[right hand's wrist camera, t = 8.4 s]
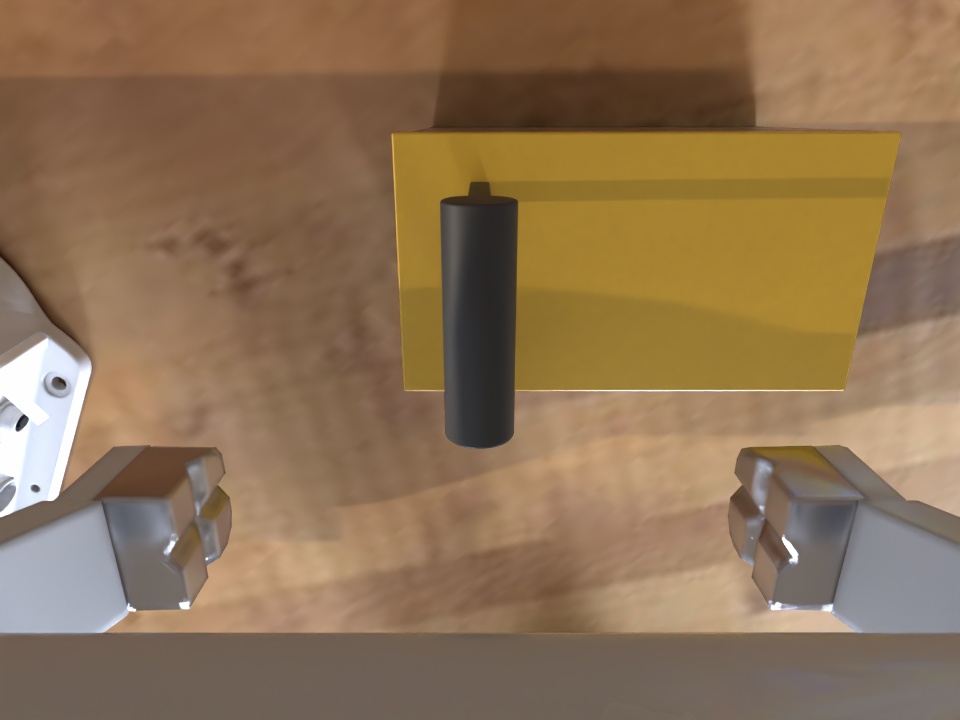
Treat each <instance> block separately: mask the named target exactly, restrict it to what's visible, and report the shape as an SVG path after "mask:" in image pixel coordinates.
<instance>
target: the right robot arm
mask: <svg viewBox="0 0 960 720" xmlns="http://www.w3.org/2000/svg"><path fill="white" fill-rule="evenodd" d="M91 368H92V367H91V361H90V359H89V357H88V355H87V354H86V352H85V351H84V350H83V349H82V348H81V347H80V346H79V345H78V344H77V343H76V342H75V341H74V340H72V339H71V338H70V337H69V336H68V335H66V334H65V333H64V332H63V331H61V330H60V329H59V328H58V327H56V326H55V325H54V324H53V323H52V322H51V321H50V320H49V319H48V317H47V316H46V315H45V313H44V312H43V311H42V309H41V307H40V306H39V304H38V303H37V301H36V300H35V298H34V296H33V295H32V293H31V292H30V290H29V289H28V287H27V286H26V285H25V283H24V282H23V281H22V279H21V278H20V277H19V276H18V274H17V273H16V272H15V271H14V270H13V269H12V268H11V267H10V266H9V265H8V264H7V263H6V262H5V261H4V260H3V259H2V258H1V257H0V720H960V517H958V516H955V515H953V514H950V513H948V512H945V511H942V510H940V509H937V508H935V507H932V506H930V505H927V504H925V503H922V502H920V501H907V500H906V499H905V498H903V497H902V496H901V495H900V494H899V493H898V492H897V491H896V490H894V489H893V488H892V487H891V486H890V485H889V484H888V483H887V482H885V481H884V480H883V479H882V478H881V477H880V476H879V475H878V474H876V473H875V472H874V471H873V470H872V469H871V468H870V467H869V466H867V465H866V464H865V463H864V462H863V461H862V460H861V459H860V458H858V457H857V456H856V455H855V454H854V453H853V452H852V451H851V450H849V449H848V448H847V447H843V446H840V445H831V446H783V447H748V448H743V449H741V451H740V453H739V455H738V457H737V461H736V467H735V472H734V473H735V474H736V476H737V478H738V479H739V481H740V482H741V484H742V486H741V487H740V488H739V489H738V490H737V491H736V492H735V493H734V494H733V495H732V496H731V497H730V504H729V512H728V522H729V532H730V536H731V539H732V542H733V546H734V548H735V549H736V551H737V553H738V555H739V556H740V558H742V559H744V560H745V561H747V562H749V563H750V564H752V565H753V566H754V567H753V573H752V578H753V580H754V582H755V583H756V585H757V587H758V588H759V590H760V592H761V593H762V595H763V597H764V598H765V600H766V602H767V603H768V605H769V607H770V608H771V609H785V610H822V611H831V614H832V615H834V616H835V617H836V618H838V619H839V620H841V621H842V622H843V623H845V624H846V625H847V626H849V627H850V628H851V629H853V630H854V631H855V632H857V633H103V632H105V631H106V630H107V629H109V628H110V627H112V626H113V625H114V624H116V623H117V622H118V621H120V620H121V619H122V618H124V617H125V616H126V615H128V614H129V611H138V610H174V609H190V607H191V605H192V604H193V602H194V600H195V599H196V597H197V595H198V594H199V592H200V590H201V589H202V587H203V585H204V584H205V582H206V580H207V578H208V573H207V567H206V566H207V565H208V564H210V563H212V562H213V561H215V560H216V559H218V558H220V556H221V555H222V553H223V551H224V549H225V547H226V546H227V543H228V539H229V535H230V531H231V527H232V510H231V503H230V497H229V496H228V495H227V494H226V493H225V492H224V491H223V490H222V489H221V488H220V487H219V486H218V484H219V482H220V481H221V479H222V478H223V476H224V474H225V473H226V472H225V467H224V463H223V458H222V454H221V453H220V451H219V450H218V449H217V448H216V447H179V446H150V445H141V446H118V447H113V448H112V449H111V450H110V451H109V452H107V453H106V454H105V455H104V456H103V457H102V458H101V459H100V460H98V461H97V462H96V463H95V464H94V465H93V466H92V467H91V468H89V469H88V470H87V471H86V472H85V473H84V474H83V475H81V476H80V477H79V478H78V479H77V480H76V481H75V482H74V483H72V484H71V485H70V486H69V487H68V488H67V489H66V490H65V491H63V492H62V493H61V494H60V495H59V491H60V488H61V484H62V480H63V476H64V472H65V469H66V465H67V461H68V457H69V454H70V450H71V446H72V442H73V438H74V435H75V431H76V427H77V423H78V420H79V416H80V412H81V408H82V404H83V401H84V397H85V393H86V389H87V386H88V382H89V378H90V374H91ZM59 377H60V378H62V379H64V380H65V382H66V385H64V384H62V383H61V381H60V380H59ZM58 495H59V496H58Z"/></svg>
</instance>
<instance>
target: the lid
mask: <svg viewBox="0 0 960 720" xmlns="http://www.w3.org/2000/svg"><path fill="white" fill-rule="evenodd" d="M900 138H901V132H891V131H661V132H395V133H392V154H393V175H394V195H395V216H396V237H397V257H398V278H399V299H400V319H401V340H402V361H403V381H404V390H405V391H444V396H445V433H446V436H447V438H448V439H449V440H450V441H451V442H453V443H454V444H457V445H459V446H462V447H466V448H474V449H485V448H493V447H497V446H500V445H502V444H505V443H506V442H508V441H509V440H510V439H511V438H512V436H513V434H514V398H515V391H844V390H845V386H846V381H847V377H848V372H849V368H850V363H851V359H852V354H853V350H854V345H855V341H856V336H857V332H858V327H859V323H860V318H861V314H862V309H863V305H864V300H865V296H866V291H867V286H868V282H869V277H870V273H871V268H872V264H873V259H874V255H875V250H876V246H877V241H878V237H879V232H880V228H881V223H882V219H883V214H884V210H885V205H886V201H887V196H888V192H889V187H890V183H891V178H892V174H893V169H894V165H895V160H896V156H897V151H898V147H899V142H900Z"/></svg>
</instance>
